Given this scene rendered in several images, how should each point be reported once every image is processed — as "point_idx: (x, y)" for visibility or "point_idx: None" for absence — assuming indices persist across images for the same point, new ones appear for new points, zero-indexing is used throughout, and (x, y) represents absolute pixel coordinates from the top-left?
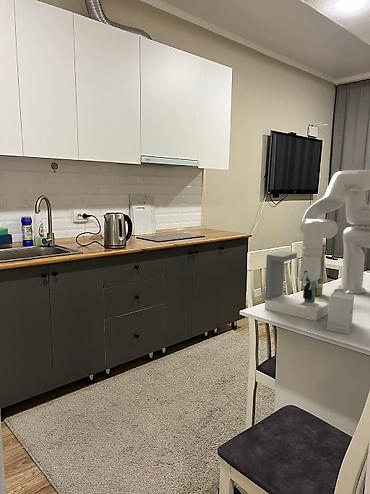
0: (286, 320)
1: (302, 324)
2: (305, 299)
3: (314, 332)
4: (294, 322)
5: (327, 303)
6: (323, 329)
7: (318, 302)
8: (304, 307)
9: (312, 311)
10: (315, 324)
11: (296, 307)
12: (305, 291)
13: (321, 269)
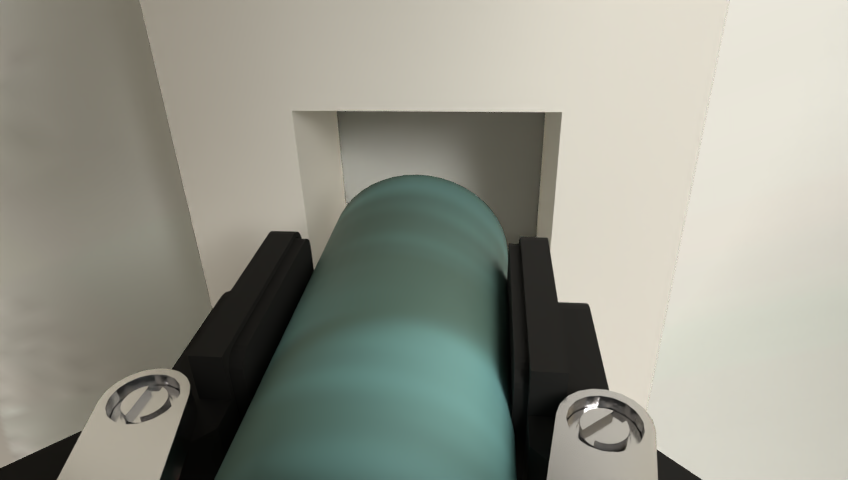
0: (4, 54)
1: (69, 242)
2: (329, 238)
3: (10, 378)
4: (40, 157)
5: (644, 397)
6: None
7: (619, 298)
8: (225, 232)
9: None
10: (180, 330)
11: (176, 117)
12: (187, 370)
13: None
